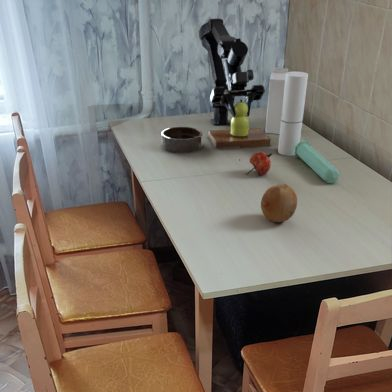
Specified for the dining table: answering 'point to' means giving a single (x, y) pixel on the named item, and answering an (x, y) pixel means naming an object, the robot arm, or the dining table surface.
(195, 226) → the dining table surface
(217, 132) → the board
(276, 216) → the onion
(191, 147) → the bowl
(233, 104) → the robot arm
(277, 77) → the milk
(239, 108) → the pear
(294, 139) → the cylindrical container
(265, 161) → the red rounded lumpy piece
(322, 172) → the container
